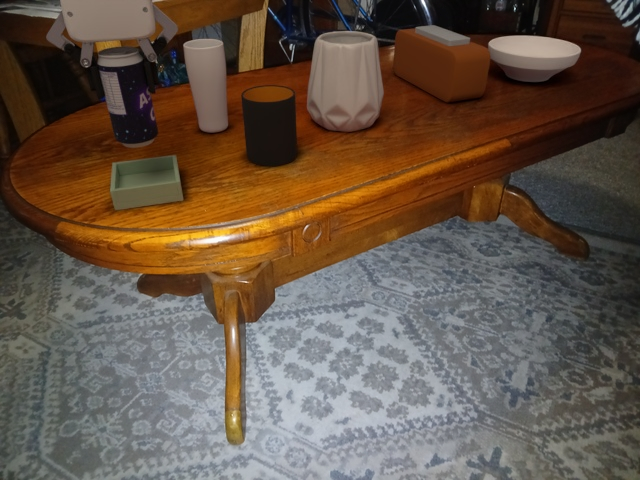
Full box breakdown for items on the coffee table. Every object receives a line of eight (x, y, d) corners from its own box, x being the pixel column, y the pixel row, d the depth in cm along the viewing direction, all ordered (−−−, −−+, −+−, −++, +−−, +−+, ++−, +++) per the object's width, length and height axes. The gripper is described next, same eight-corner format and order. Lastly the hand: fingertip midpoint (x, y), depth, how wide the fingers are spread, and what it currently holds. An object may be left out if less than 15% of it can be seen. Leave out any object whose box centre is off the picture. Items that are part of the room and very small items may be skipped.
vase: (376, 139, 90) (381, 49, 81) (298, 132, 92) (295, 44, 84) (386, 111, 101) (392, 29, 92) (317, 106, 104) (316, 26, 95)
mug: (265, 134, 92) (261, 76, 86) (307, 156, 84) (306, 94, 78) (225, 147, 87) (218, 86, 81) (265, 171, 80) (261, 106, 74)
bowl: (514, 61, 130) (520, 31, 126) (589, 79, 117) (598, 46, 113) (465, 76, 120) (470, 44, 116) (541, 97, 107) (549, 62, 103)
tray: (115, 210, 70) (109, 191, 68) (116, 180, 77) (112, 162, 76) (183, 200, 72) (180, 181, 71) (179, 172, 80) (175, 154, 78)
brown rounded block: (484, 100, 106) (494, 42, 100) (449, 105, 103) (458, 47, 97) (422, 69, 124) (427, 19, 118) (391, 73, 122) (395, 22, 115)
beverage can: (153, 149, 68) (134, 57, 61) (110, 150, 68) (87, 57, 61) (163, 133, 73) (147, 45, 66) (124, 133, 73) (103, 45, 66)
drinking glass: (234, 121, 97) (225, 38, 89) (231, 134, 92) (221, 48, 83) (197, 122, 97) (185, 38, 88) (192, 136, 91) (179, 48, 83)
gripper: (169, -73, 62) (192, 78, 72) (12, -69, 58) (59, 90, 68) (173, -69, 56) (197, 95, 66) (-2, -65, 52) (52, 110, 62)
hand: (127, 91), depth 67 cm, fingers closed on beverage can, 5 cm apart
